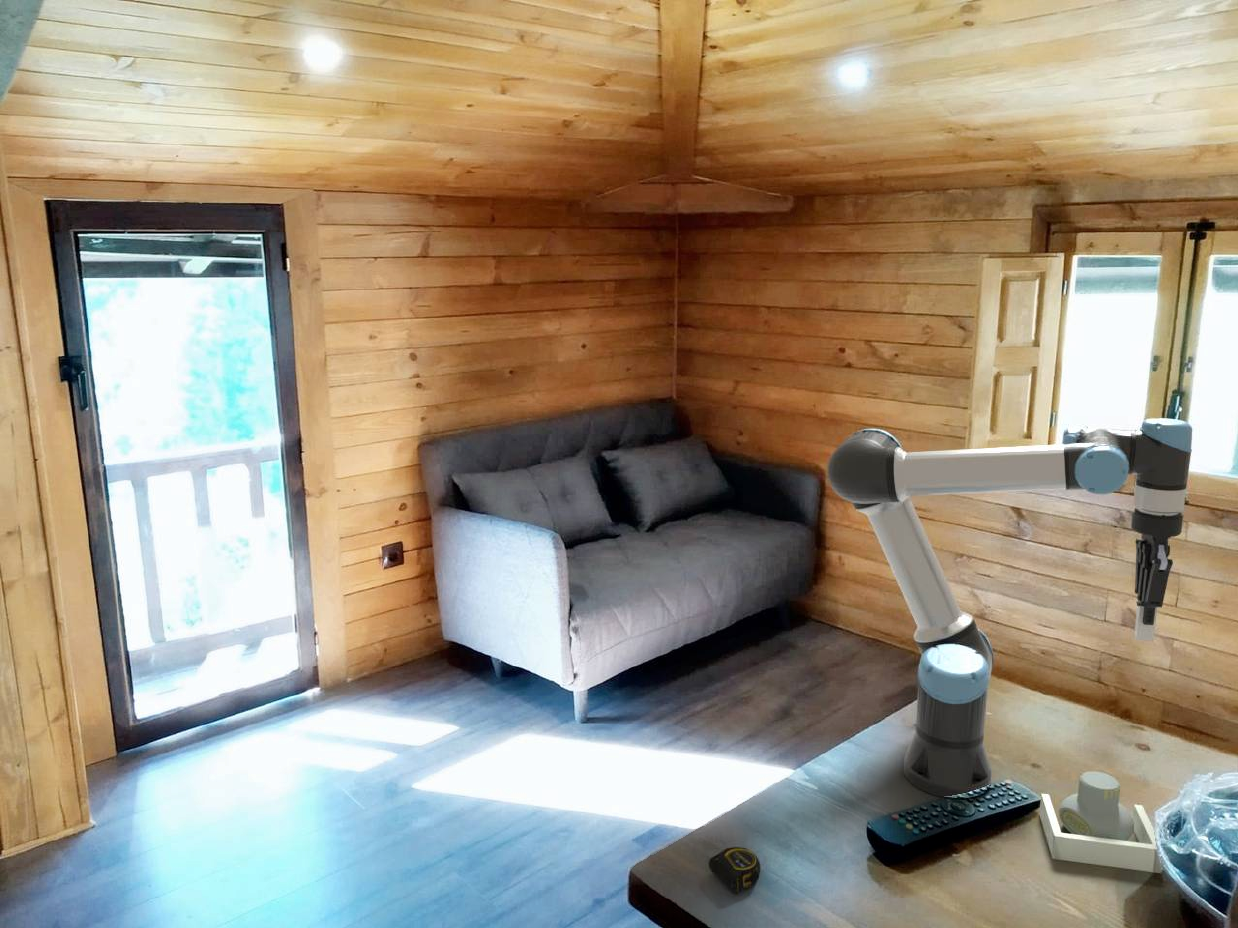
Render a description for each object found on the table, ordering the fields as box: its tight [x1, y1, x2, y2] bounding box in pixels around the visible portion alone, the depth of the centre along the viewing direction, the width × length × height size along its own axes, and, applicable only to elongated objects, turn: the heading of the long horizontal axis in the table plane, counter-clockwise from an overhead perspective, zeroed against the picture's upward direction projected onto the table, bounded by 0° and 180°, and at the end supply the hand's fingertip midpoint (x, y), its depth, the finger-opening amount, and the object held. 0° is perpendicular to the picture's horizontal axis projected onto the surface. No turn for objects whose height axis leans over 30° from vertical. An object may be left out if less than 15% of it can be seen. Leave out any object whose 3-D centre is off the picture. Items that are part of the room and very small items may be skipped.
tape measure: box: [708, 846, 761, 894], centre depth 144 cm, size 7×7×4 cm
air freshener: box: [1058, 770, 1135, 841], centre depth 152 cm, size 11×8×10 cm
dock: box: [1039, 793, 1163, 874], centre depth 151 cm, size 15×12×4 cm
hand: (1143, 638), depth 165 cm, fingers closed
